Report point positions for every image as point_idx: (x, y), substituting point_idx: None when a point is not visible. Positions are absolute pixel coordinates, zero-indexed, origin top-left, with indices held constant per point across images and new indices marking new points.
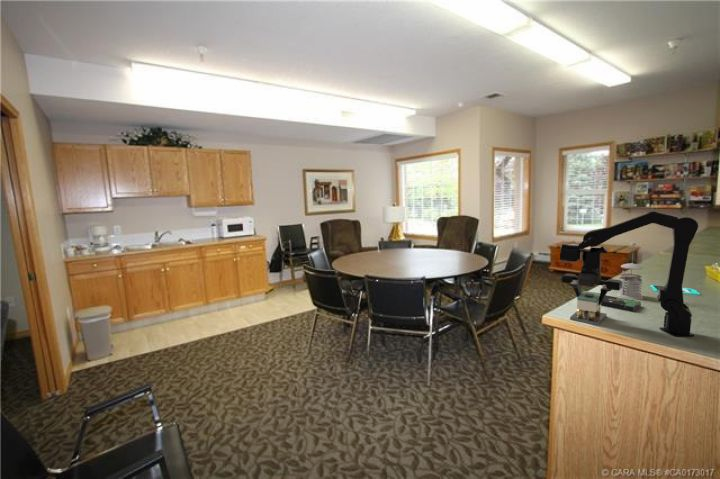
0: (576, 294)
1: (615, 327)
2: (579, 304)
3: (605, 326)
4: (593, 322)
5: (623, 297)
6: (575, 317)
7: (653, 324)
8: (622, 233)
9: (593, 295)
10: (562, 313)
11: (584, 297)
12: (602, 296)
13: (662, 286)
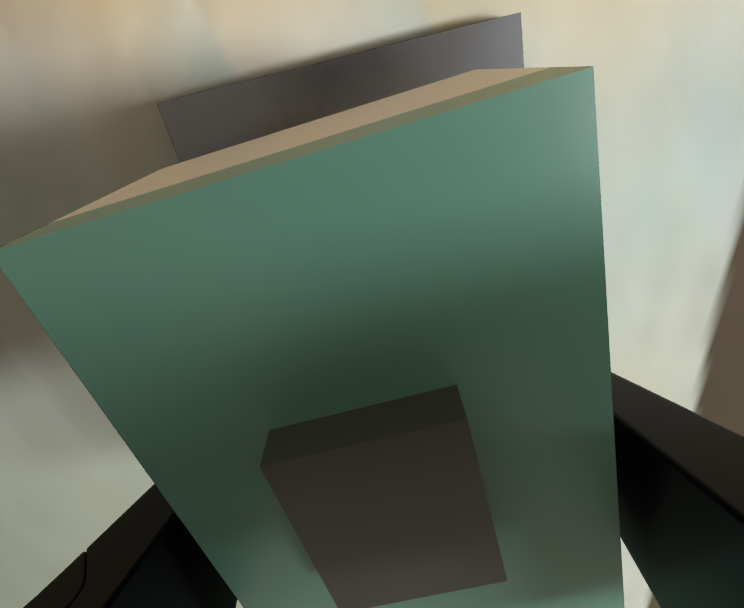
0: (701, 422)
1: (50, 216)
2: (452, 83)
3: (115, 153)
4: (213, 91)
5: None
6: (456, 62)
7: (7, 527)
8: None
9: (324, 557)
10: (662, 186)
11: (408, 269)
12: (70, 578)
13: None
